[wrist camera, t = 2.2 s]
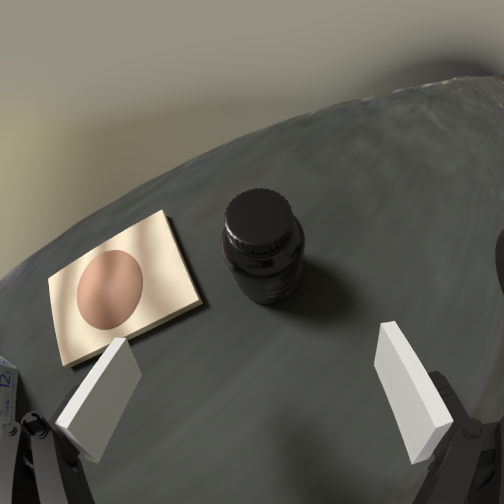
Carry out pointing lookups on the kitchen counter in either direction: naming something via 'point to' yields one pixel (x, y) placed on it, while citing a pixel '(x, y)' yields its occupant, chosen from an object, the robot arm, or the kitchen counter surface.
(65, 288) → the birch board
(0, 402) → the soda pack
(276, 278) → the supplement bottle
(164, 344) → the kitchen counter surface
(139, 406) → the kitchen counter surface
